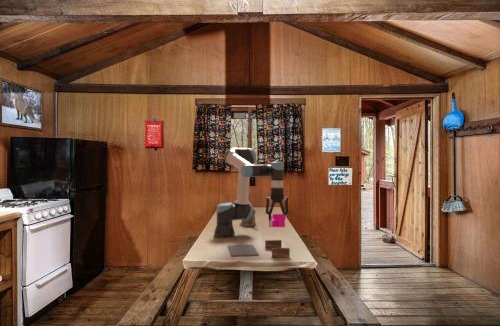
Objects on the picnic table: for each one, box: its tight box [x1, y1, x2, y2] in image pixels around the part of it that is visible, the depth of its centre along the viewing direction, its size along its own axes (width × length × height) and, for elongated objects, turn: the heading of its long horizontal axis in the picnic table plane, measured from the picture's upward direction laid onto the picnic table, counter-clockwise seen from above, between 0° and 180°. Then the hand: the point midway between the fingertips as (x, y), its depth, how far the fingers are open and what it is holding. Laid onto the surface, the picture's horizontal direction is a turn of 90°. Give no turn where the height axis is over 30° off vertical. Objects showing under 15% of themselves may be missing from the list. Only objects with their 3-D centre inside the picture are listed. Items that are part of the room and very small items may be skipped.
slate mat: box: [227, 244, 260, 258], centre depth 200 cm, size 22×16×1 cm
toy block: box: [268, 213, 286, 228], centre depth 198 cm, size 15×6×8 cm, turn 9°
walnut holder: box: [264, 239, 291, 259], centre depth 197 cm, size 21×10×5 cm, turn 9°
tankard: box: [239, 207, 257, 227], centre depth 276 cm, size 20×13×15 cm, turn 25°
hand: (276, 225), depth 197 cm, fingers closed on toy block, 6 cm apart
